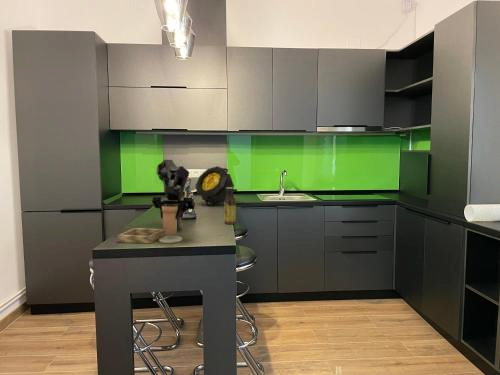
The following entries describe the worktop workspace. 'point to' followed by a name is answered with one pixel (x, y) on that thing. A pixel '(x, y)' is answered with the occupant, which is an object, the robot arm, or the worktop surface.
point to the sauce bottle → (229, 207)
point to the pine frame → (133, 238)
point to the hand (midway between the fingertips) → (168, 218)
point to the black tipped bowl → (214, 185)
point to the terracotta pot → (169, 219)
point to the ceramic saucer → (170, 239)
